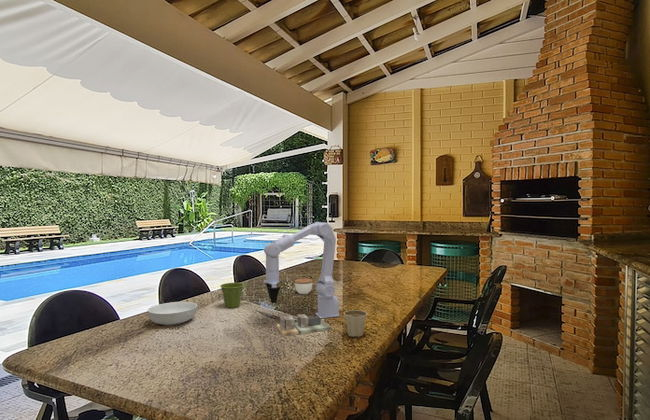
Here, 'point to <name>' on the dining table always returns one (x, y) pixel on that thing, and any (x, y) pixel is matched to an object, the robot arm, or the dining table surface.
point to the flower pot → (355, 322)
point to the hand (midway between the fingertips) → (272, 300)
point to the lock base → (292, 328)
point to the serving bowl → (172, 312)
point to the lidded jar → (303, 285)
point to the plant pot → (232, 294)
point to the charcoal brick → (311, 321)
